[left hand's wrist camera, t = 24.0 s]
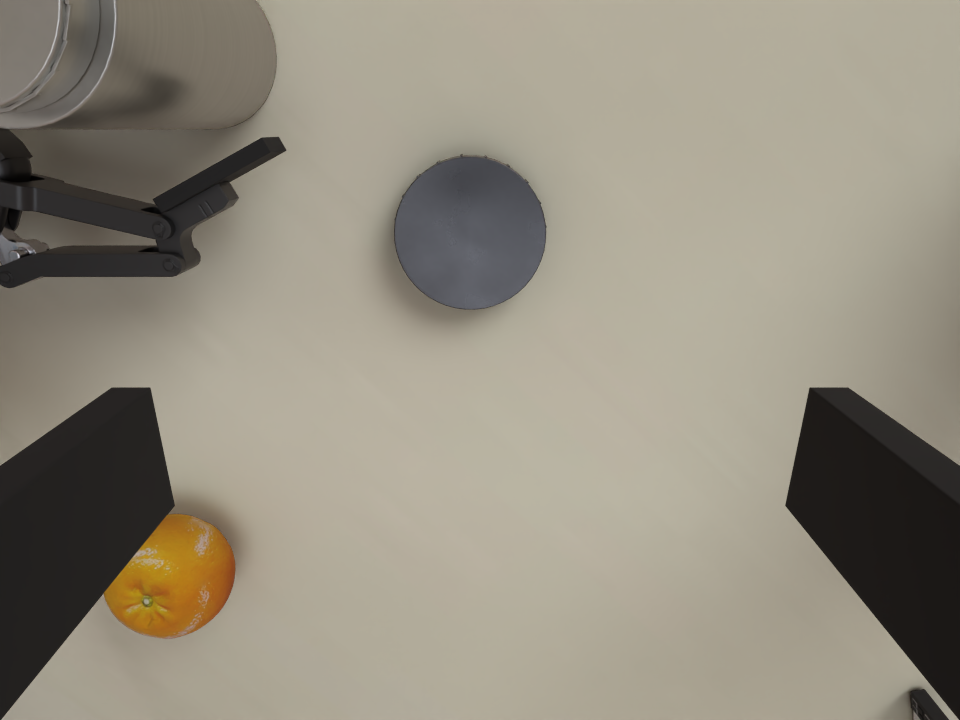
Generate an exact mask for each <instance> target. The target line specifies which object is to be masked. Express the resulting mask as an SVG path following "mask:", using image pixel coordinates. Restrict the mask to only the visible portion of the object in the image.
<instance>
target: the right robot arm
mask: <svg viewBox="0 0 960 720" xmlns="http://www.w3.org/2000/svg"><path fill="white" fill-rule="evenodd" d="M285 151H286V149H285V147H284V145H283V144H282V142H281V140H280V138H279V137H266V138H260V139H259V140H257V141H255V142H253V143H252V144H250V145H248V146H246V147H244V148H243V149H241V150H239V151H237V152H236V153H234V154H232V155H230V156H229V157H227V158H225V159H223V160H221V161H220V162H218V163H216V164H214V165H213V166H211V167H209V168H207V169H205V170H204V171H202V172H200V173H198V174H197V175H195V176H193V177H191V178H189V179H188V180H186V181H184V182H182V183H181V184H179V185H177V186H175V187H174V188H172V189H170V190H168V191H166V192H165V193H163V194H161V195H159V196H158V197H156V198H154V199H153V201H154V202H155V204H156V205H154V204H150V203H145V202H141V201H137V200H133V199H129V198H124V197H120V196H116V195H112V194H108V193H104V192H99V191H95V190H91V189H87V188H83V187H78V186H74V185H70V184H66V183H64V181H62V180H58V179H54V178H50V177H46V176H42V175H37V174H33V173H31V164H30V161H29V158H31V157H33V156H32V155H31V153H30V152H29V151H28V149H27V148H26V146H25V145H24V144H23V142H21V141H20V140H19V139H18V138H17V137H16V136H15V135H14V134H13V133H12V132H11V131H10V130H9V129H3V128H0V263H1V264H2V266H0V285H2V286H4V287H7V288H13V287H16V286H19V285H22V284H25V283H28V282H31V281H34V280H36V279H39V278H42V277H173V276H177V275H179V274H181V273H183V272H185V271H187V270H189V269H191V268H193V267H195V266H197V265H198V264H199V262H200V259H201V256H200V253H199V251H198V250H197V249H196V248H194V246H193V242H192V238H191V234H192V231H193V229H194V228H195V227H196V226H197V225H199V224H200V223H202V222H204V221H206V220H208V219H210V218H211V217H213V216H215V215H217V214H219V213H221V212H222V211H224V210H226V209H228V208H230V207H231V206H233V205H234V204H235V202H236V201H237V200H238V198H239V197H238V195H237V194H236V192H235V191H234V189H233V187H232V186H231V184H230V182H231V181H232V180H234V179H236V178H238V177H240V176H241V175H243V174H245V173H247V172H249V171H250V170H252V169H254V168H256V167H258V166H259V165H261V164H263V163H265V162H267V161H268V160H270V159H272V158H274V157H276V156H277V155H279V154H281V153H283V152H285ZM22 211H36V212H41V213H45V214H49V215H53V216H58V217H62V218H66V219H70V220H75V221H79V222H83V223H88V224H92V225H96V226H100V227H105V228H109V229H113V230H117V231H122V232H126V233H130V234H135V235H139V236H143V237H147V238H152V239H156V243H157V246H62V247H57V248H53V249H50V250H49V246H48V245H47V244H46V243H41V242H40V241H38V240H35V239H28V240H26V239H22V238H20V237H19V236H18V235H17V234H16V233H15V232H14V231H15V230H16V229H17V227H18V225H19V221H20V217H21V213H22Z"/></svg>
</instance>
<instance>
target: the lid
mask: <svg viewBox="0 0 960 720" xmlns="http://www.w3.org/2000/svg"><path fill="white" fill-rule="evenodd" d="M528 183H529V182H528V181H527V180H526V179H525V180H524V179H523V178H522V177H521V176H520V175H519V174H518V173H517V172H515V171H514V170H513V169H512V168H510V166H509V165H508V164H507V165H505V164H504V163H501V162H499V161H497V160H495V159H491V158H488V157H487V156H486V155H485V157H484V156H477V155H464V156H463V154H461V155H460V156H456V157H452V158H449V159H446V160H443V161H441V162H440V161H438V162H437V164H435V165H433V166H432V167H430V168H429V169H427V170H426V171H425V172H424V173H422V174H419V175H418V176H417V179H416V180H415V181H414V182H413V183H412V184H411V186H410V187H409V188H408V190H407V191H406V193H405V194H404V195H403V196H402V197H403V198H402V200H401V202H400V205H399V208H398V211H397V215H396V218H395V228H394V237H395V246H396V251H397V254H398V258H399V261H400V263H401V265H402V267H403V269H404V271H405V273H406V274H407V276H408V277H409V279H410V280H411V281H412V282H413V284H414V285H415V286H416V287H417V288H418V289H419V290H420V291H421V292H423V293H424V294H425V295H427V296H428V297H430V298H431V299H433V300H435V301H437V302H439V303H441V304H444V305H446V306H450V307H454V308H459V309H482V308H487V307H491V306H495V305H497V304H500V303H502V302H504V301H506V300H508V299H510V298H511V297H513V296H514V295H515V294H517V293H518V292H519V291H520V290H521V289H522V288H524V287H525V286H526V284H527V283H528V282H529V281H530V280H531V278H532V277H533V275H534V274H535V272H536V270H537V268H538V266H539V264H540V262H541V259H542V256H543V253H544V248H545V242H546V225H545V219H544V214H543V211H542V208H541V205H540V204H541V202H540V201H539V200H538V199H537V197H536V195H535V193H534V191H533V190H532V189H531V187H530V186H529V185H528Z"/></svg>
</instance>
